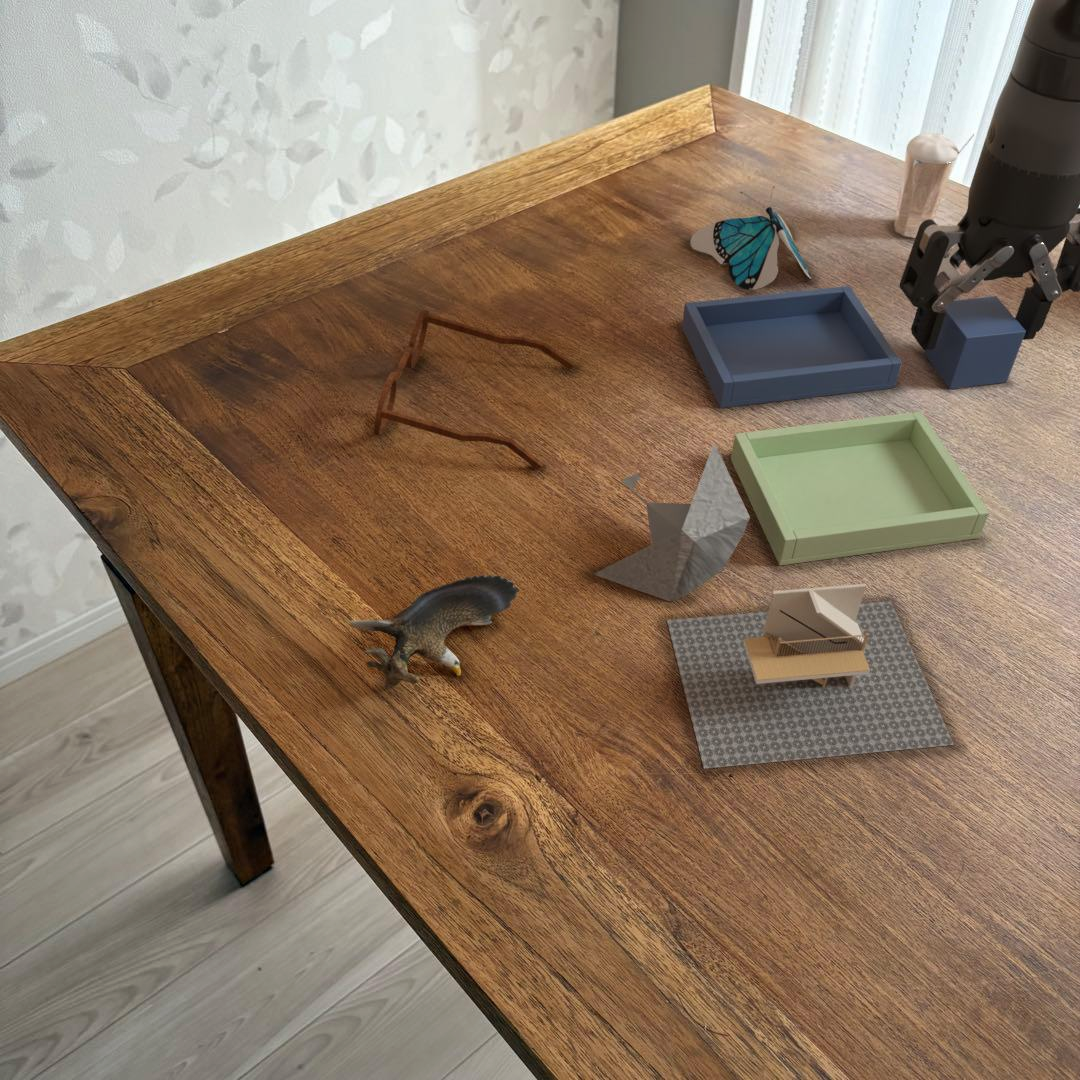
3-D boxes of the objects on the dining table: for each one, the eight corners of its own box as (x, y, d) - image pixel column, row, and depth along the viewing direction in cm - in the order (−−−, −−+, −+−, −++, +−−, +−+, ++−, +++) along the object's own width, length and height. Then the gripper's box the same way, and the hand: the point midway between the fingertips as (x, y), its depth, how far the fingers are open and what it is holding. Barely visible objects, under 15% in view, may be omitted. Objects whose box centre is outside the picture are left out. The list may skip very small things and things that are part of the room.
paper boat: (654, 632, 70) (551, 536, 72) (664, 641, 76) (569, 552, 78) (785, 492, 70) (677, 400, 72) (784, 512, 76) (685, 427, 78)
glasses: (420, 348, 93) (416, 296, 89) (574, 367, 91) (576, 316, 87) (372, 449, 84) (365, 397, 80) (542, 473, 82) (542, 421, 78)
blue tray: (843, 310, 97) (849, 285, 95) (895, 388, 89) (902, 362, 87) (681, 327, 95) (684, 302, 93) (719, 408, 87) (723, 383, 85)
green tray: (913, 436, 85) (921, 410, 83) (979, 538, 77) (990, 512, 75) (730, 459, 83) (734, 433, 81) (779, 565, 75) (785, 540, 74)
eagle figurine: (455, 727, 65) (545, 616, 68) (382, 645, 61) (481, 532, 65) (388, 707, 71) (474, 605, 74) (319, 630, 67) (412, 528, 71)
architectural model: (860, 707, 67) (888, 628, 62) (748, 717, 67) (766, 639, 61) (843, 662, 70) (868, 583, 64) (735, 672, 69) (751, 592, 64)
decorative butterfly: (743, 267, 94) (701, 185, 99) (726, 318, 100) (687, 239, 104) (850, 249, 96) (804, 170, 101) (827, 300, 102) (785, 223, 106)
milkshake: (941, 247, 104) (971, 145, 97) (883, 237, 105) (909, 135, 98) (946, 224, 107) (976, 123, 100) (890, 214, 108) (915, 114, 101)
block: (978, 346, 93) (996, 295, 89) (1007, 382, 90) (1026, 331, 86) (922, 352, 92) (938, 301, 89) (949, 389, 89) (966, 337, 85)
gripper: (971, 178, 73) (909, 376, 85) (1165, 162, 76) (1079, 357, 87) (923, 127, 79) (871, 321, 90) (1105, 114, 81) (1031, 304, 92)
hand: (973, 339), depth 89 cm, fingers open, 8 cm apart
